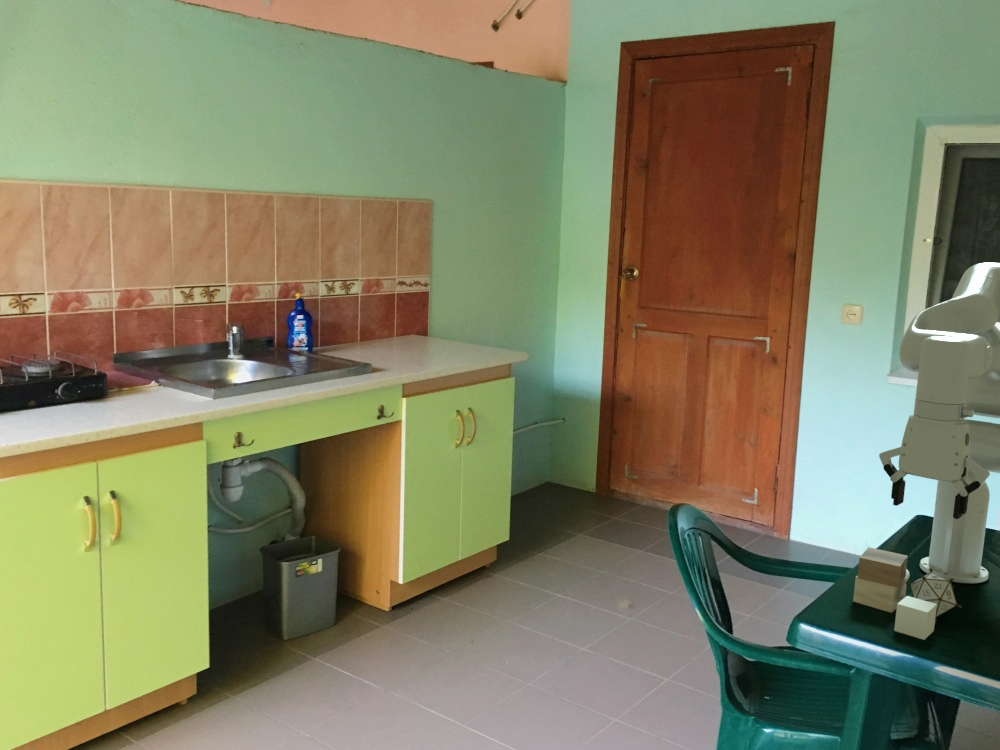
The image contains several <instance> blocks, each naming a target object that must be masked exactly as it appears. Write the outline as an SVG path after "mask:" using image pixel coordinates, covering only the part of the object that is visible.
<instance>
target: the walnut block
mask: <svg viewBox="0 0 1000 750" xmlns="http://www.w3.org/2000/svg"><path fill="white" fill-rule="evenodd" d="M858 559H859V560H858V568H857V575H858V577H857V578H858V579H863V580H867V581H871V582H876V583H880V584H884V585H888V586H893V587H897V588H898V587H899V585H900V584H901V582H902V581H903V579H904V578H905V576H906V569H907V567H908V559H909V556H908V555H906V554H901V553H897V552H893V551H888V550H883V549H878V548H875V547H874V548H873V547H867V548H866V549H865V550H864V552H863V553H862V554H861V555H860V556H859V558H858Z"/></svg>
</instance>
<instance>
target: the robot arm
mask: <svg viewBox="0 0 1000 750" xmlns="http://www.w3.org/2000/svg"><path fill="white" fill-rule="evenodd" d="M996 323H999V324H1000V262H982V263H981V262H980V263H976V264H973V265H972V266H970V267H969V268H967V269H966V270H965V271H964V273H963V275H962V276H961V278H960V279H959V282H958V285H957V287H956V289H955V291H954V292H953V294H952V297H951V298H950V299H948V300H945V301H942V302H940V303H938V304H935V305H933V306H930V307H928V308H925V309H924V310H922V311H920V312H919V313H917V314H916V315H915V316H914V317H913V318H912V320H911V322H910V323H909V325H908V327H907V329H906V331H905V333H904V335H903V336H902V337H903V338H902V340H901V343H900V347H899V360H900V362H901V365H902V366H903V368H905V369H906V370H908V371H909V372H913V373H917V383H916V389H915V390H916V391H915V400H914V406H913V407H914V409H913V413H912V414H911V415H909V417H908V419H907V423H906V425H905V428H904V433H903V437H902V440H901V446H899V447H896V448H892V449H889V450H886V451H883V452H880V453H879V460H880V461H881V464H882V466H883V468H882V469H883V470H884V472H885V473H886V474H887V476H888V477H889V479H890V481H891V482H892V486H891V493H890V494H891V496H890V497H891V499H892V500H893V502H892V504H893V506H896V507H897V506H899V505H901V504H903V503H904V498H905V490H906V480H905V479H904V478H905V477H906V476H907V475H911V476H915V477H920V478H924V479H930V480H935V481H937V487H936V493H935V494H936V496H935V501H934V502H935V503H934V511H933V512H934V513H933V520H932V529H931V538H930V539H931V540H930V545H929V552H928V554H929V555H928V556H926V557H923V558H921V559H920V561H919V567H920V569H921V570H922V572H924V573H926V574H928V573H930V571H929V569H930V568H932V569H933V570H932V573H934V574H937V575H939V576H941V577H943V578H945V579H947V580H950V579H951V578H954V579H953V581H951V583H952V582H954V583H958V584H979V583H981V584H982V583H984V582H986V581H988V579H989V574H990V573H989V571H988V570H987V568H985V567H984V566H982V560H983V559H982V558H983V552H984V543H985V537H986V527H987V519H988V511H989V506H990V505H989V503H990V497H991V496H990V489H989V486H988V484H987V482H986V481H987V479H988V478H989V477H990V475H991V473H997V474H1000V423H996V422H995V423H994V422H989V421H982V420H974V419H967V418H974V415H975V416H979V417H986V418H995V419H1000V330H999V328H998V327H997V326H996ZM898 456H899V457H898ZM894 457H898V468H899V469H898V468H896V466H895V465H894V464H893V462H892V458H894Z"/></svg>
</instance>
